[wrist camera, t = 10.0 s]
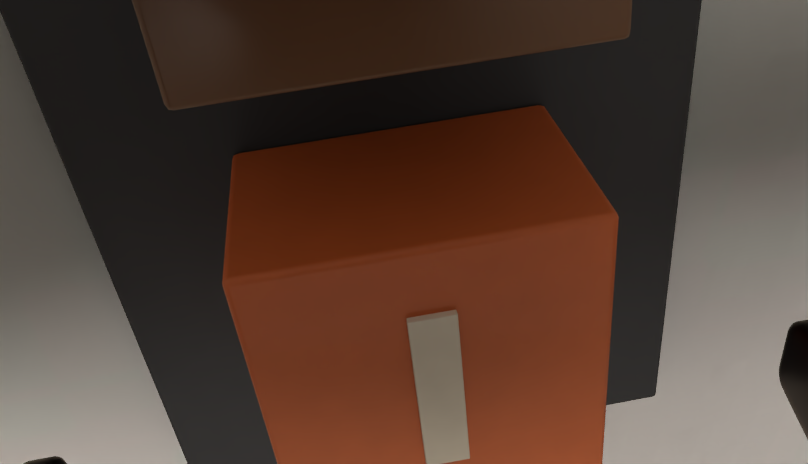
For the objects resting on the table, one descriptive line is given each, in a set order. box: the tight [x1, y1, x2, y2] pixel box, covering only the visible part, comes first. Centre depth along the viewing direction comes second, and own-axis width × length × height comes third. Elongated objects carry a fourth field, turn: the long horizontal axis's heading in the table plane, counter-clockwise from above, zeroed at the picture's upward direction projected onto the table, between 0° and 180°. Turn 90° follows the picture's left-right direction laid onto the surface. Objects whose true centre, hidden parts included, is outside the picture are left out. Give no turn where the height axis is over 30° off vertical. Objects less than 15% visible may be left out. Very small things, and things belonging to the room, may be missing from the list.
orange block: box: [222, 105, 619, 464], centre depth 11 cm, size 4×4×3 cm
